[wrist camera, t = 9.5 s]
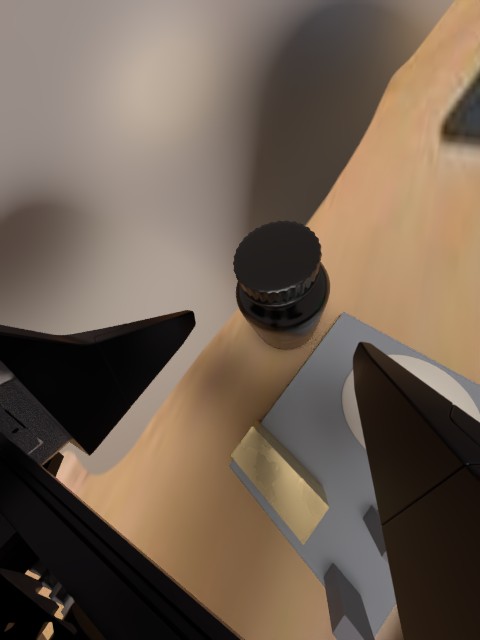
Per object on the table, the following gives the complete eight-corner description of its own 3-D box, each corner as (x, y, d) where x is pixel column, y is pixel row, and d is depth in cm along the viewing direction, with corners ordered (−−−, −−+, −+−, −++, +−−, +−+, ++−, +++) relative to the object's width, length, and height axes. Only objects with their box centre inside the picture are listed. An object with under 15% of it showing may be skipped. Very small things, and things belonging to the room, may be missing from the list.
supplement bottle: (319, 297, 20) (353, 199, 9) (312, 355, 18) (343, 324, 7) (261, 292, 22) (231, 209, 11) (250, 343, 20) (202, 306, 9)
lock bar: (301, 518, 14) (303, 545, 12) (238, 444, 17) (230, 455, 14) (323, 486, 14) (329, 507, 12) (257, 419, 17) (252, 426, 15)
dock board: (364, 624, 12) (395, 732, 8) (232, 460, 17) (216, 483, 14) (503, 404, 13) (584, 415, 10) (341, 315, 18) (353, 299, 15)
